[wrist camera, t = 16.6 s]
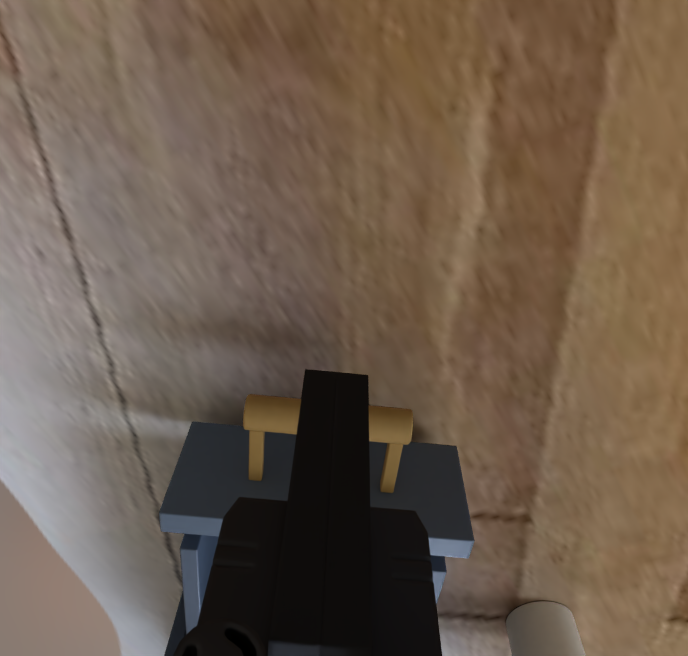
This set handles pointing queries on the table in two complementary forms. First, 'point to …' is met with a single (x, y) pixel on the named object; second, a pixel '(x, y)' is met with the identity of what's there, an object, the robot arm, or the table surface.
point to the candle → (543, 631)
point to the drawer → (275, 473)
